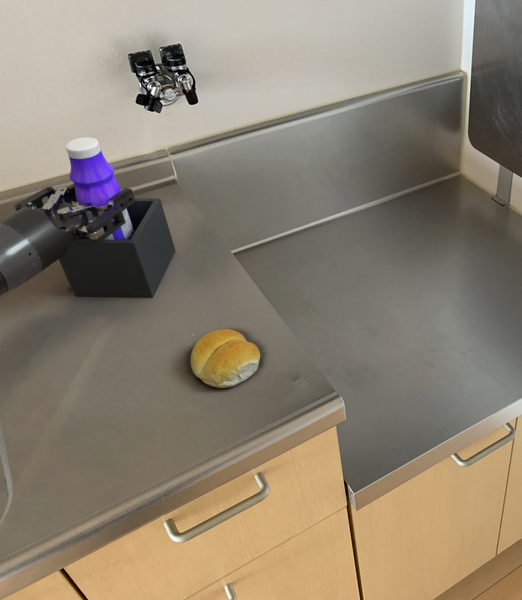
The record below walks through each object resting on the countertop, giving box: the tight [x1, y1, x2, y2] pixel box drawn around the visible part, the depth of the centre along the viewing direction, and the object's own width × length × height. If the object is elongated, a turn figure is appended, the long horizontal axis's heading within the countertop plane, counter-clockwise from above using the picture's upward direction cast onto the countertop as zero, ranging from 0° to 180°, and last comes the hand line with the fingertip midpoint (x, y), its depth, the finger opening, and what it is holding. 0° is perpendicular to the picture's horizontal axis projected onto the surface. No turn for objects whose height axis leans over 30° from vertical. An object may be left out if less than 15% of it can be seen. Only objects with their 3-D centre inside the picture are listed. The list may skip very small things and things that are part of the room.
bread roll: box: [190, 328, 261, 389], centre depth 79 cm, size 8×9×4 cm
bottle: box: [65, 136, 135, 240], centre depth 87 cm, size 7×6×17 cm
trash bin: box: [58, 197, 176, 298], centre depth 92 cm, size 12×12×10 cm
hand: (110, 188), depth 88 cm, fingers closed on bottle, 7 cm apart
